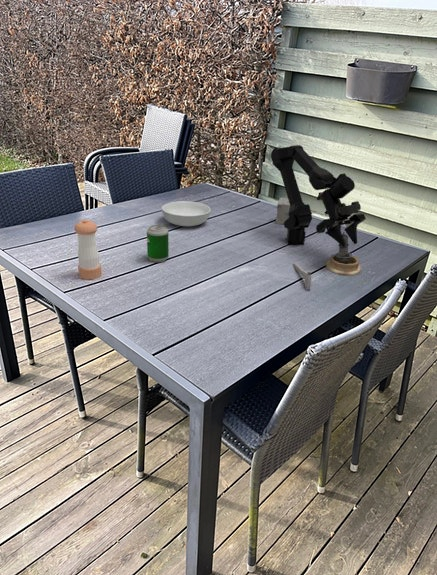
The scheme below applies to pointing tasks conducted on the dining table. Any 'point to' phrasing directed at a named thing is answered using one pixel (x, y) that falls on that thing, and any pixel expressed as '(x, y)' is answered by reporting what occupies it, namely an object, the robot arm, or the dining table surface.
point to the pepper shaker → (87, 250)
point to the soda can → (157, 243)
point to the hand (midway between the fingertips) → (350, 244)
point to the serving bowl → (186, 213)
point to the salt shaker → (344, 252)
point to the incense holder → (282, 210)
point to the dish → (344, 266)
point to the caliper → (304, 275)
